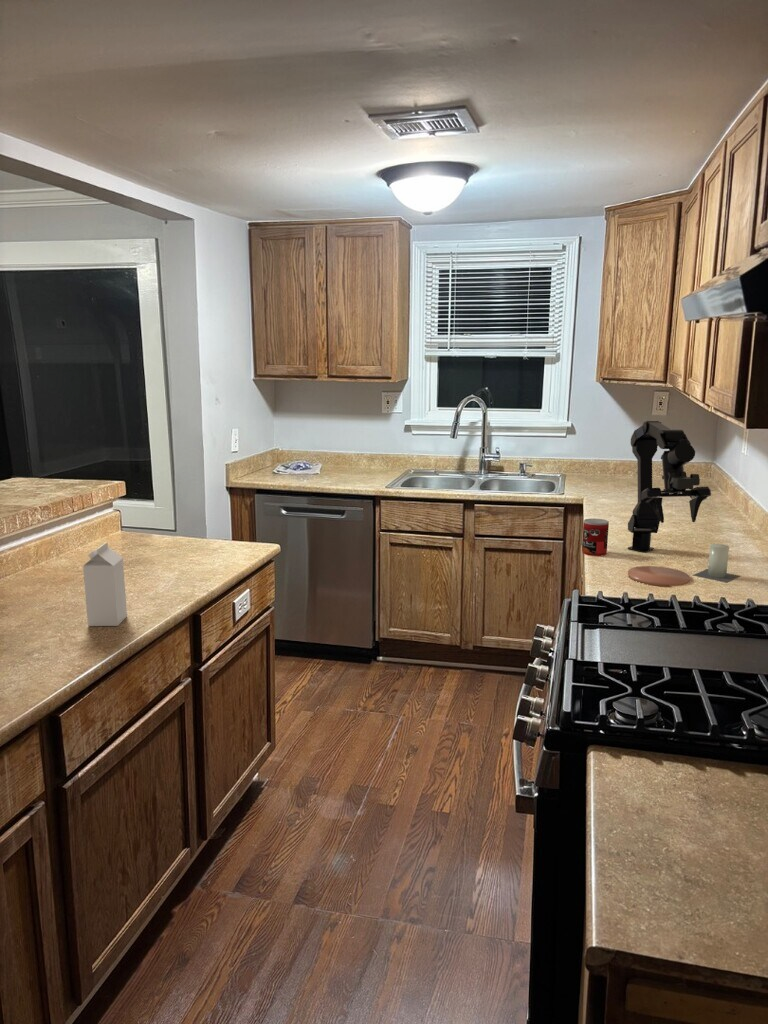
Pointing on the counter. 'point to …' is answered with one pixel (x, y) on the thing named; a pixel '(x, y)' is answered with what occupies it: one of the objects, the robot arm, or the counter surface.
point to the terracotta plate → (658, 576)
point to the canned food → (595, 537)
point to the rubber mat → (727, 579)
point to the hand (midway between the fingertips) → (678, 522)
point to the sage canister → (718, 560)
